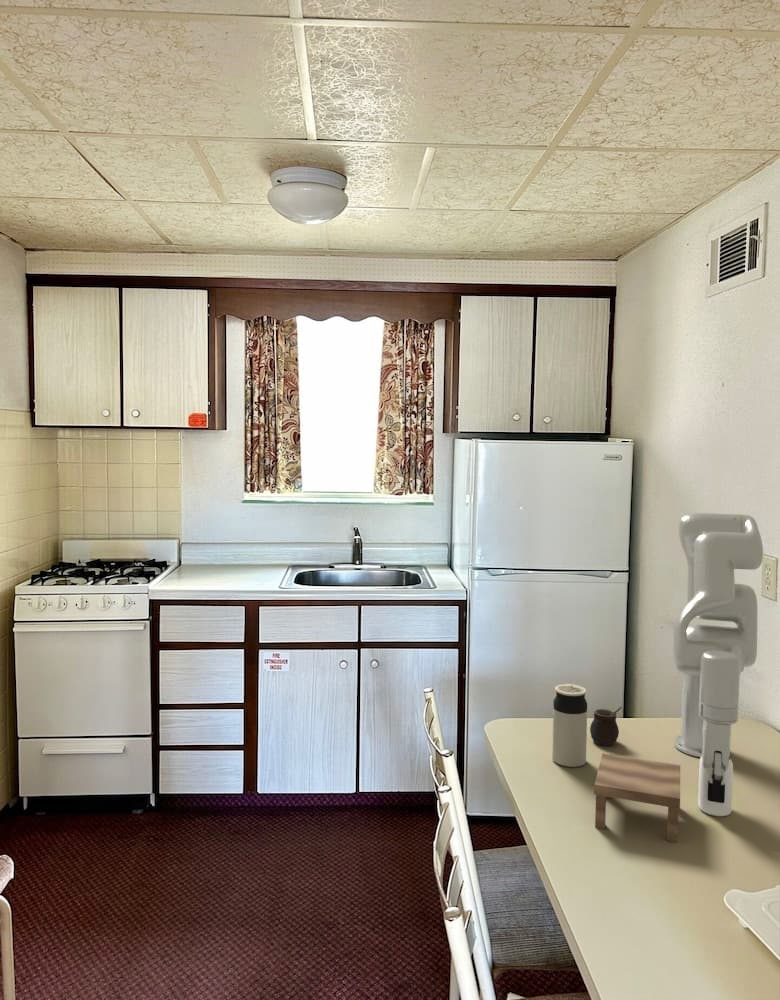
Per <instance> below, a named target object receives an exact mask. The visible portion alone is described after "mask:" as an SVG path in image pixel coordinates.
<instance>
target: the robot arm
mask: <svg viewBox="0 0 780 1000" xmlns="http://www.w3.org/2000/svg"><path fill="white" fill-rule="evenodd" d="M756 521H757V520H755V518H754V517H753V516H751V515H747V514H739V513H735V514H734V513H713V512H712V513H710V512H708V513H707V512H706V513H705V512H704V513H703V512H702V513H701V512H700V513H699V512H697V513H696V512H695V513H688V514H685V515H684V516H681V518H680V519H679V522H678V536H679V539H680V544H681V547H682V549H683V552H684V555H685V558H686V562H687V594H686V595H687V603H686V604H685V605H684V606H683V608H682V609H681V610H680V612H679V613H678V616H677V617H676V620H675V622H674V626H673V663H674V666H675V668H676V670H677V671H678V672H679V673H681V674H682V686H681V687H682V688H681V690H682V691H681V692H682V693H681V719H680V720H681V721H680V722H681V723H680V735H677V736H676V737H675V738H674V740H673V745H674V747H675V748H676V749H677V750H679V751H680V752H682V753H684V754H685V755H686V754H687V755H689V756H693V757H698V758H701V756H702V766H703V767H704V768H706V767H707V768H709V767H710V768H709V769H710V780H709V781H708V796H707V799H708V801H712V802H718V803H724V800H725V784H724V771H727V770H728V765H729V756H731V755H730V753H731V742H732V741H731V736H732V725H735V724H737V723H738V721H739V699H740V698H739V695H740V694H739V693H740V675H741V674H742V672H744V669H745V668H748V667H752V666H753V665H754V664H755V663H756V660H757V655H758V600H757V599H758V598H757V594H756V592H755V589H754V588H752V587H751V586H749V585H748V584H745V583H744V584H743V583H736V582H735V570H750V571H751V570H753V571H755V570H757V569H759V568H760V567H761V565H762V563H763V558H764V547H763V540H762V537H761V536H762V535H761V533H760V530H759V526H758V524H757V522H756ZM694 619H697V620H706V621H714V622H715V621H716V622H718V621H719V622H728V623H734V624H736V627H733V626H731V627H730V626H719V625H708V624H707V625H706V624H693V625H690V623H691V621H692V620H694ZM714 751H715V757H714ZM712 764H714V765H715V768H714V767H712ZM721 766H722V769H721ZM713 771H715V772H714V774H713Z"/></svg>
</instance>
